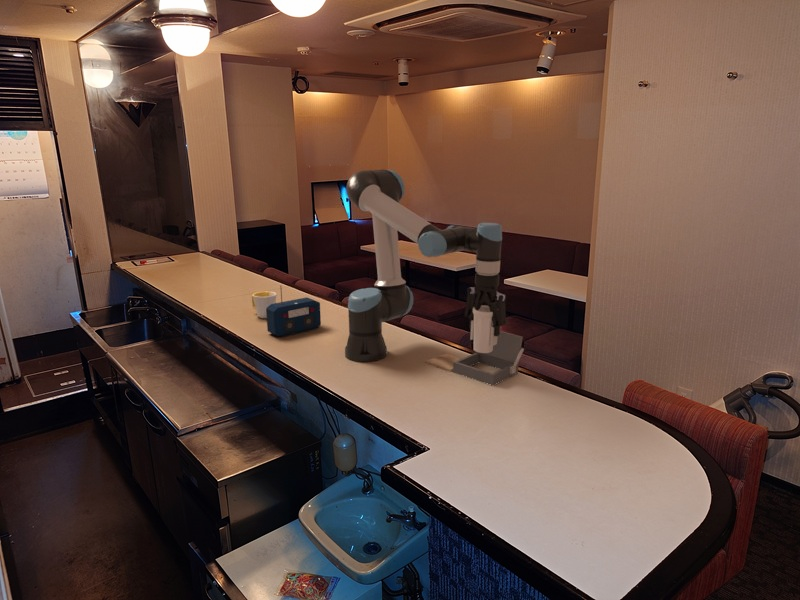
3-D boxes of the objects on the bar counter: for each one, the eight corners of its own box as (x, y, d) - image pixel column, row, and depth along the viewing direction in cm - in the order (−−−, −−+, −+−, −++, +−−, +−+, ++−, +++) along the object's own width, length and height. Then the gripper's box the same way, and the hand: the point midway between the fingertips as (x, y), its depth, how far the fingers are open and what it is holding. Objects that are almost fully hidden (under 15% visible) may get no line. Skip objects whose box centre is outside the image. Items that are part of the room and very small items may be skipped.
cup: (466, 347, 180) (468, 306, 176) (487, 345, 183) (490, 304, 179) (477, 356, 173) (480, 313, 169) (500, 353, 175) (503, 311, 171)
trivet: (449, 371, 181) (449, 369, 181) (425, 363, 188) (425, 361, 188) (469, 362, 188) (470, 361, 188) (445, 354, 196) (445, 353, 196)
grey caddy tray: (496, 386, 169) (498, 349, 166) (453, 372, 180) (453, 336, 177) (523, 372, 180) (526, 337, 176) (481, 359, 191) (482, 325, 188)
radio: (276, 339, 213) (273, 289, 208) (266, 333, 220) (263, 285, 215) (322, 328, 226) (320, 281, 221) (311, 323, 233) (309, 278, 227)
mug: (281, 317, 242) (280, 294, 239) (260, 321, 236) (258, 298, 233) (267, 310, 252) (266, 288, 250) (247, 314, 246) (245, 292, 243)
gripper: (521, 276, 166) (516, 346, 173) (469, 266, 180) (465, 331, 186) (507, 280, 161) (502, 352, 167) (454, 269, 175) (452, 336, 181)
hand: (483, 341), depth 177 cm, fingers closed on cup, 7 cm apart
